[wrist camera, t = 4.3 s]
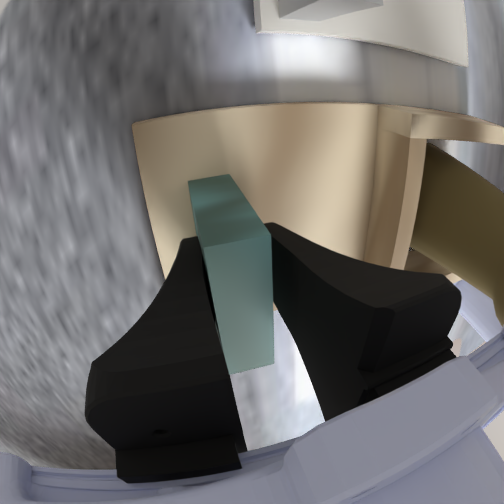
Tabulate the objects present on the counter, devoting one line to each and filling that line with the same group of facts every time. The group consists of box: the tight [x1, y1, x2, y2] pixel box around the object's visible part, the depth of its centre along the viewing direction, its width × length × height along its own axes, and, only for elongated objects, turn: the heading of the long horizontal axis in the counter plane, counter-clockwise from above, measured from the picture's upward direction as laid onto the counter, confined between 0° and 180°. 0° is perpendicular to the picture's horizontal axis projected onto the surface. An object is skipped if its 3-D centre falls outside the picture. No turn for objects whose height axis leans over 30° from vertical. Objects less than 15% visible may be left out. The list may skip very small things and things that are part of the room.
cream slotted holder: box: [132, 102, 504, 375], centre depth 12 cm, size 18×10×6 cm, turn 94°
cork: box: [410, 143, 504, 327], centre depth 11 cm, size 6×6×11 cm
